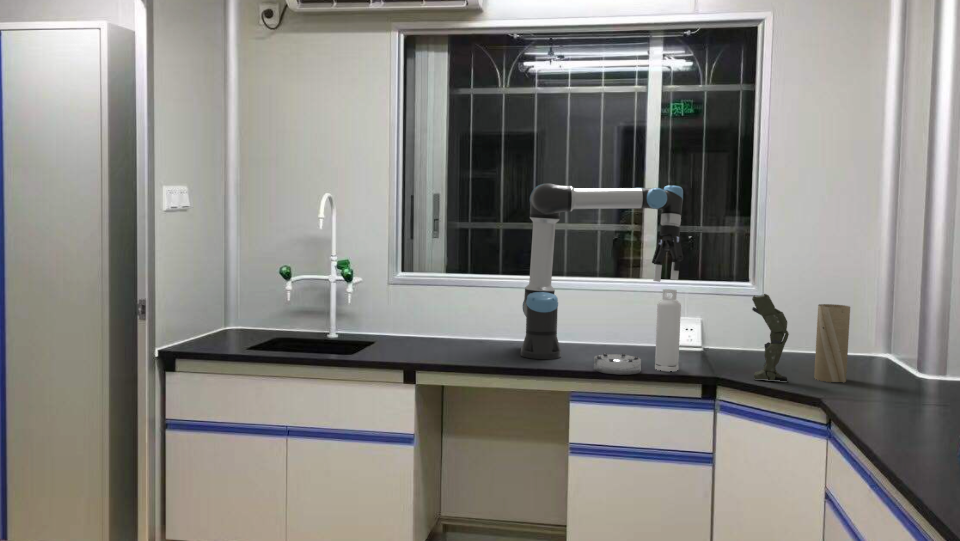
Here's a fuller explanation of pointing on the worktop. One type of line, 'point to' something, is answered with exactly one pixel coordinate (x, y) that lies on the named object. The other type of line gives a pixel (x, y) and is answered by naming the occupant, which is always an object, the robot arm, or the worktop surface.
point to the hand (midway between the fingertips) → (665, 280)
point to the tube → (832, 342)
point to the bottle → (668, 332)
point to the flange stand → (617, 364)
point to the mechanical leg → (771, 337)
